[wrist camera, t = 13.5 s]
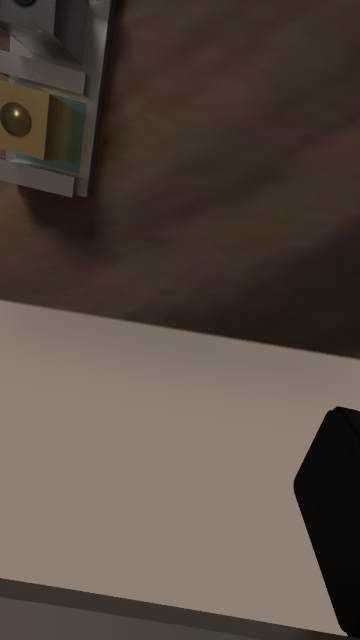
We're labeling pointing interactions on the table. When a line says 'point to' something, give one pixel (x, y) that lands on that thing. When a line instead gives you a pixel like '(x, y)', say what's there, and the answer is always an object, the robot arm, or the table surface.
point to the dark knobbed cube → (47, 26)
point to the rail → (73, 89)
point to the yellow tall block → (36, 123)
